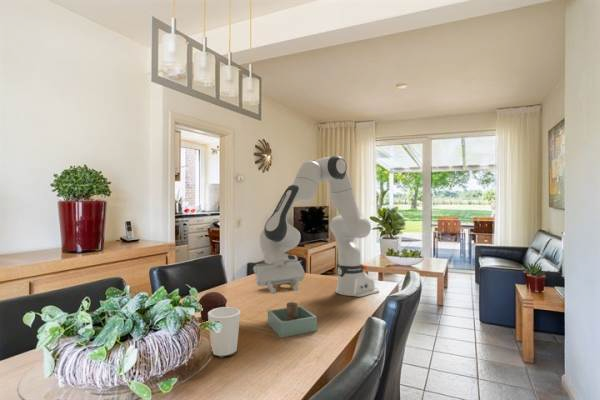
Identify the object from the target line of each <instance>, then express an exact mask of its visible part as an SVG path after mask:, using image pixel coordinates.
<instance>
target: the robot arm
mask: <svg viewBox="0 0 600 400" xmlns="http://www.w3.org/2000/svg"><path fill="white" fill-rule="evenodd" d="M323 181H324V182H327V181H328V183H329V189H330V194H331V199H332V205H333V207H334V209H335V210H336V211H338V213H339V215H337V216H334V217H332V218H331V219H330V221H329V229H330V231H331V233H332V234H333V236H334V239H335V242H336V245H337V248H338V250H337V251H338V263H337V275H338V276H337V282H336V283H337V284H336V288H335V293H336V294H339V295H342V296H349V297H350V296H351V297H352V296H353V297H359V298H360V297H365V296H369V295H373V294H377V293H379V292H380V289H379V288H378V287H376V286H375V281H374V279H373V278H372V277H371V276H370V275H369V274H368V273H366V272H365V271H366V270H367V269H368V265H365V264H361V247H360V246H358V244H357V243H356V240H355V239H363V238H366V237H368V236H369V235H370V233H371V229H372V225H371V223H370V221H369V219H367V218H366V217H365V216H364V215H363V213H362V211H361V210H360V208H359V207H358V204H357V202H356V198H355V193H354V189H353V185H352V180H351V178H350V175H349V173H348V170H347V162H346V161H345V159H344V158H343V157H341V156H340V155H332V156H327V157H321V158H318V159H313V160H306V161H304V162H303V163H302V164H301V165H300V168H299V170H298V171H297V173H296V176H295V178H294V180H293V183H292V184H291V185H289V186H288V187H286V189H285V191H284V192H283V194H282V196H281V197H280V199H279V201H278V202H277V205H276V206H275V209H274V210H273V213H272V214H271V216H270V217H269V218H268V220H267V221H266V222H265V224H264V229H263V230H262V231H261V232H260V235H259V244H260V245H259V246H260V249H261V252H262V254H263V259H264V262H263V263H256V264H255V265H253V269H252V271H253V273H254V274H255V281H256V285H257V286H258V287H265V286H266V288H267V289H268V290H269V291H270V293H271V295H276V293H277V290H276V289H277V288H274V287H273V284H281V283H288V282H294V284H295V285H294V287H293V289H292V290H293V292H298V291H299V285H298V282H302V281H303V280H304V279H305V276H306V272H305V270H304V268H303V265H302V264H301V262H299V261H298V256H296V255H294V254H289V253H287V252H290V251H291V250H293V249H295V248H297V247H298V245H299V244H300V242H301V239H302V236H301V232H300V231H299V230H298V229H297V228H296V227H295V226H294V225H291V224H290V223H289V221H288V216H289V214H290V212H291V210H292V208H293V206H294V204H295V203H296V202H302V203H305V202H309V201H312V199H314V197H315V195H316V193H317V190H318V188H319V184H320V182H323ZM364 270H365V271H364Z"/></svg>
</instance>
